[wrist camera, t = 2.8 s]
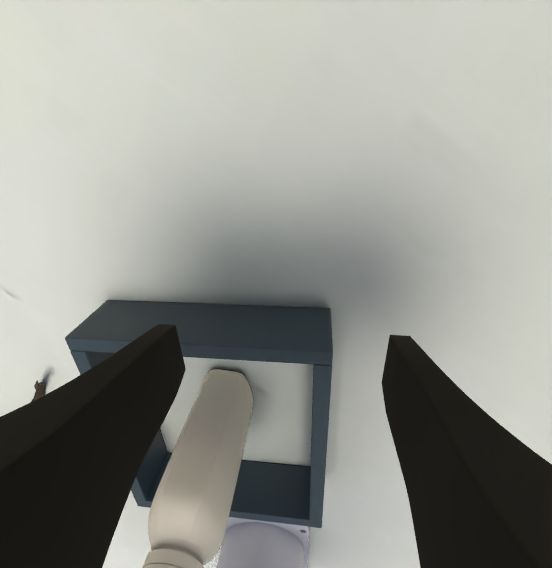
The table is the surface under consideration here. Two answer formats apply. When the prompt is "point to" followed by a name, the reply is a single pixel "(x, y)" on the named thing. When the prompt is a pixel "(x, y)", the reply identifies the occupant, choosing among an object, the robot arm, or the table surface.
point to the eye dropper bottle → (201, 475)
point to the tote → (237, 346)
